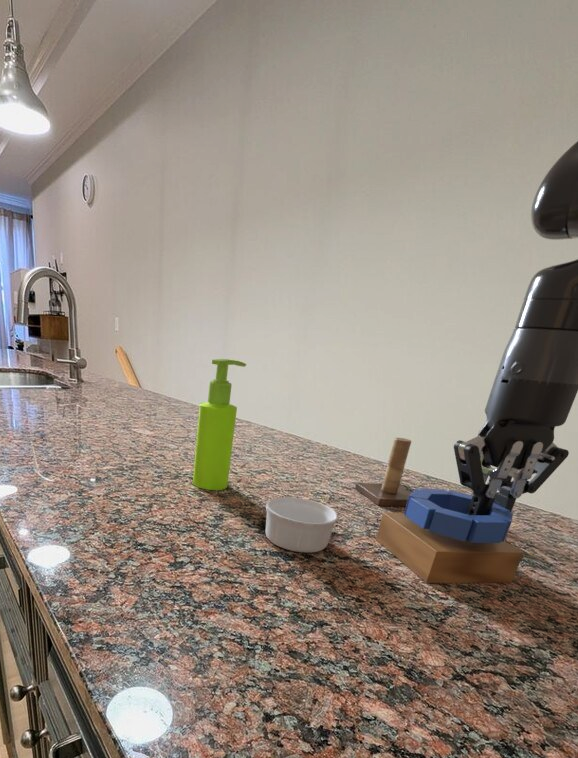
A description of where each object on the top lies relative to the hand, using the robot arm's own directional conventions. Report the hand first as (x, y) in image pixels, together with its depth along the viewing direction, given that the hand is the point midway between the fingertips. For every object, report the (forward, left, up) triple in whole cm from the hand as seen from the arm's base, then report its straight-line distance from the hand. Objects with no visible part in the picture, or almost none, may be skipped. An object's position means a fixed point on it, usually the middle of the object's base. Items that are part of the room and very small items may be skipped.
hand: (484, 522), depth 54 cm
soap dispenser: (+29, -26, -5) cm, 39 cm away
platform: (+5, 0, -5) cm, 7 cm away
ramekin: (+22, -5, -5) cm, 23 cm away
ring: (+4, 0, 0) cm, 4 cm away
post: (-1, -22, -5) cm, 23 cm away
